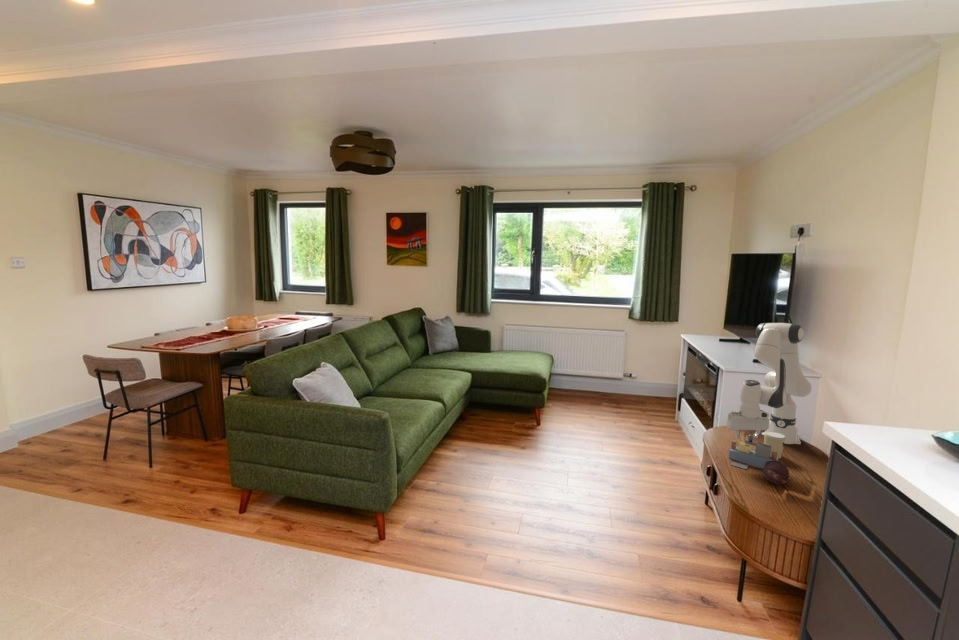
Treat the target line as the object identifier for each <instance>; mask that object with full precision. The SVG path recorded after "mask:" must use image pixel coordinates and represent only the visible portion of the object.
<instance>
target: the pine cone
mask: <svg viewBox="0 0 959 640" xmlns="http://www.w3.org/2000/svg"><path fill="white" fill-rule="evenodd" d="M762 471H763V472H762V473H763V475H764V478H766V480H767V481H769V482H770V483H772V484H775V485H777V486H778V485H782V484H787V483H788V482H790V471H789V468H788V467H787V465H784V463H782V462H781V461H779V460H778V461H776V460H775V461H774V460H773V461H767V462H766V463H765V465H764V468H763V469H762Z"/></svg>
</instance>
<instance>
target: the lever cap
mask: <svg viewBox="0 0 959 640" xmlns="http://www.w3.org/2000/svg"><path fill="white" fill-rule="evenodd" d="M752 446H753V445H750V444H746V443H745V441H741V440H740V441H739V443H738V446H737V447H738V451H739V452H743V453H746V454H749V453H750V452H751V450H752Z"/></svg>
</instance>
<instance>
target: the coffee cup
mask: <svg viewBox="0 0 959 640" xmlns="http://www.w3.org/2000/svg"><path fill="white" fill-rule="evenodd" d="M764 432H765V431H764ZM763 436H764V437H763V438H764V439H763V444H767V445H771V446H772V447H771V454H772V451H775V452H777V453H778V454H777V457H778V459H782V456H783V450H784V447H785V444H784V442H785V436H784V435H782V434H780V433H776V432H765V433H764V435H763Z"/></svg>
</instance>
